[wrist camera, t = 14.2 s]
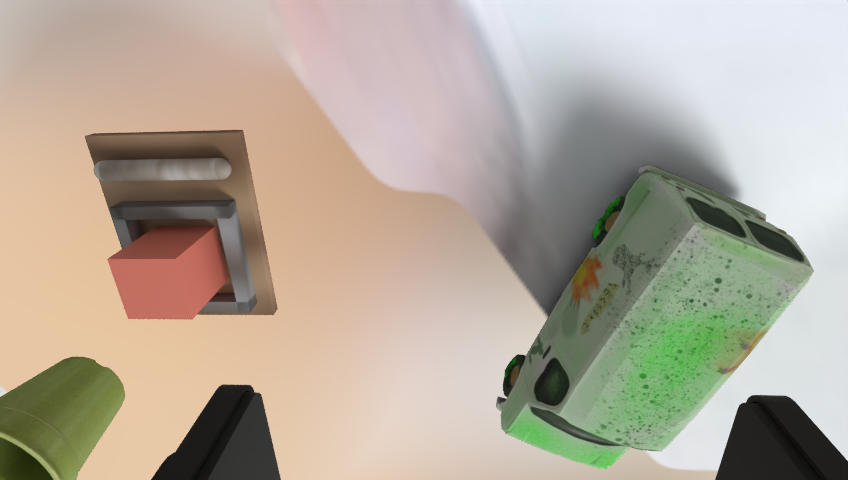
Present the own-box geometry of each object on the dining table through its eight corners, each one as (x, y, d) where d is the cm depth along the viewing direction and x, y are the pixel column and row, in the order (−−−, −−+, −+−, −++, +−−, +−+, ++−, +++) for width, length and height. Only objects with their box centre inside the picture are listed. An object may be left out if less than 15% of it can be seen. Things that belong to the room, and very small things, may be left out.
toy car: (490, 389, 45) (498, 481, 36) (632, 152, 35) (692, 197, 26) (590, 425, 46) (623, 523, 37) (755, 205, 36) (856, 266, 27)
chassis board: (93, 133, 37) (68, 141, 34) (242, 129, 36) (227, 137, 34) (150, 308, 43) (132, 324, 41) (277, 308, 43) (266, 325, 40)
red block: (156, 226, 39) (107, 259, 33) (215, 225, 38) (175, 259, 33) (172, 279, 41) (128, 318, 35) (228, 279, 40) (192, 319, 35)
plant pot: (82, 315, 44) (-30, 402, 34) (172, 400, 48) (94, 501, 38) (7, 365, 48) (-117, 458, 37) (96, 441, 51) (6, 545, 41)
